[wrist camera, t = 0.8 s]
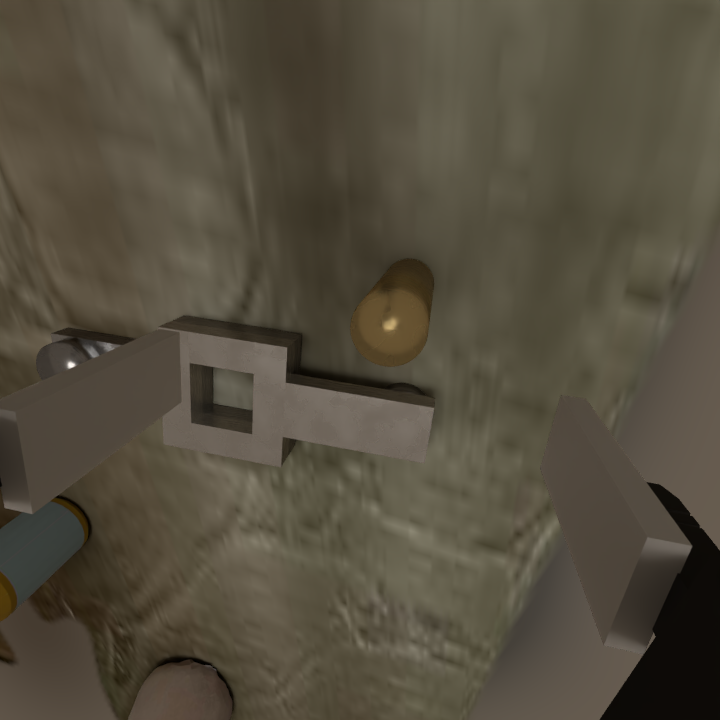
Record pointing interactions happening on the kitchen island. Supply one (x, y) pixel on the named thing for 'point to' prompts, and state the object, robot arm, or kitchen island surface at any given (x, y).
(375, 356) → the pin
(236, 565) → the kitchen island surface
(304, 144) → the kitchen island surface
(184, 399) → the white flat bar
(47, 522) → the bottle
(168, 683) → the sculpture
